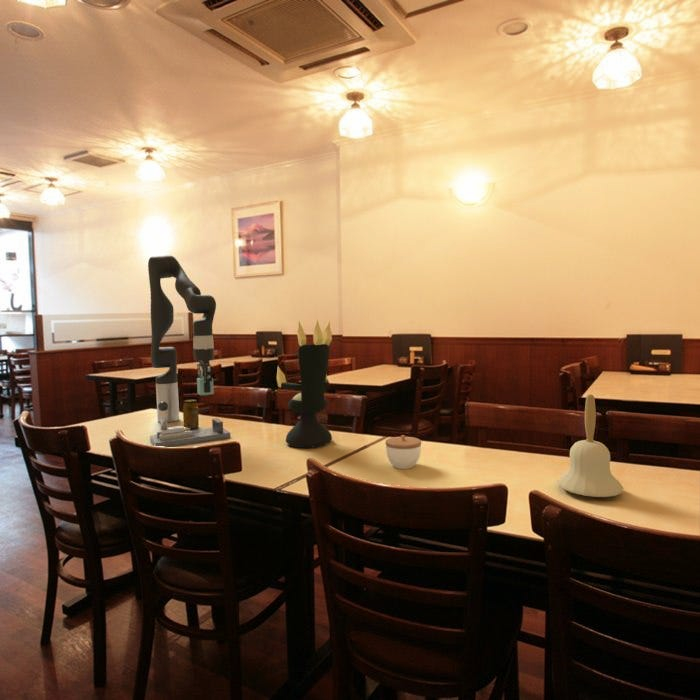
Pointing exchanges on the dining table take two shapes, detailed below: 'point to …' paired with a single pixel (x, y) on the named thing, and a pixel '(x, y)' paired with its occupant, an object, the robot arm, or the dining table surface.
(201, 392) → the housing
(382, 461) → the dining table surface
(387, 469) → the dining table surface
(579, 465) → the handbell
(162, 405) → the ram
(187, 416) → the condiment
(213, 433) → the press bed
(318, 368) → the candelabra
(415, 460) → the lidded jar
